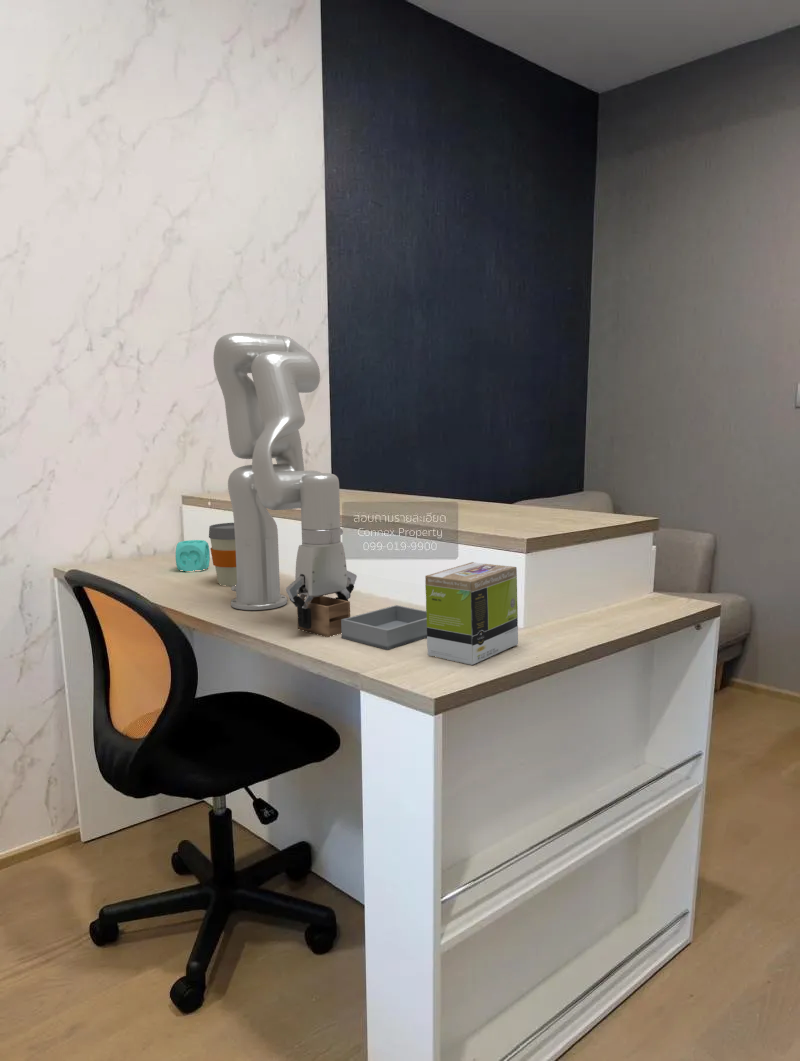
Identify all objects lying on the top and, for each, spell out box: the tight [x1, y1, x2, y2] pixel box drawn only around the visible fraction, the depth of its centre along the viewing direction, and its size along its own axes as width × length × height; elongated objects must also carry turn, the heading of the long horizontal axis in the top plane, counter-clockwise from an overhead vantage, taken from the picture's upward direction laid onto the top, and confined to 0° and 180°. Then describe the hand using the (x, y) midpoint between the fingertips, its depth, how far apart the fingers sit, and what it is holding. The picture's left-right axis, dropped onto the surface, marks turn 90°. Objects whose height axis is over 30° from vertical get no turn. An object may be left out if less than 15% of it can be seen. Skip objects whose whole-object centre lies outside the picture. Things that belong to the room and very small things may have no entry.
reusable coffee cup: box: [208, 522, 237, 587], centre depth 199 cm, size 13×13×15 cm
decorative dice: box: [175, 539, 211, 571], centre depth 218 cm, size 8×8×8 cm
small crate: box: [296, 595, 351, 638], centre depth 152 cm, size 9×6×6 cm, turn 47°
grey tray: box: [341, 604, 427, 651], centre depth 147 cm, size 12×15×4 cm
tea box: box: [424, 561, 519, 666], centre depth 136 cm, size 15×10×15 cm
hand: (323, 622), depth 152 cm, fingers open, 9 cm apart
